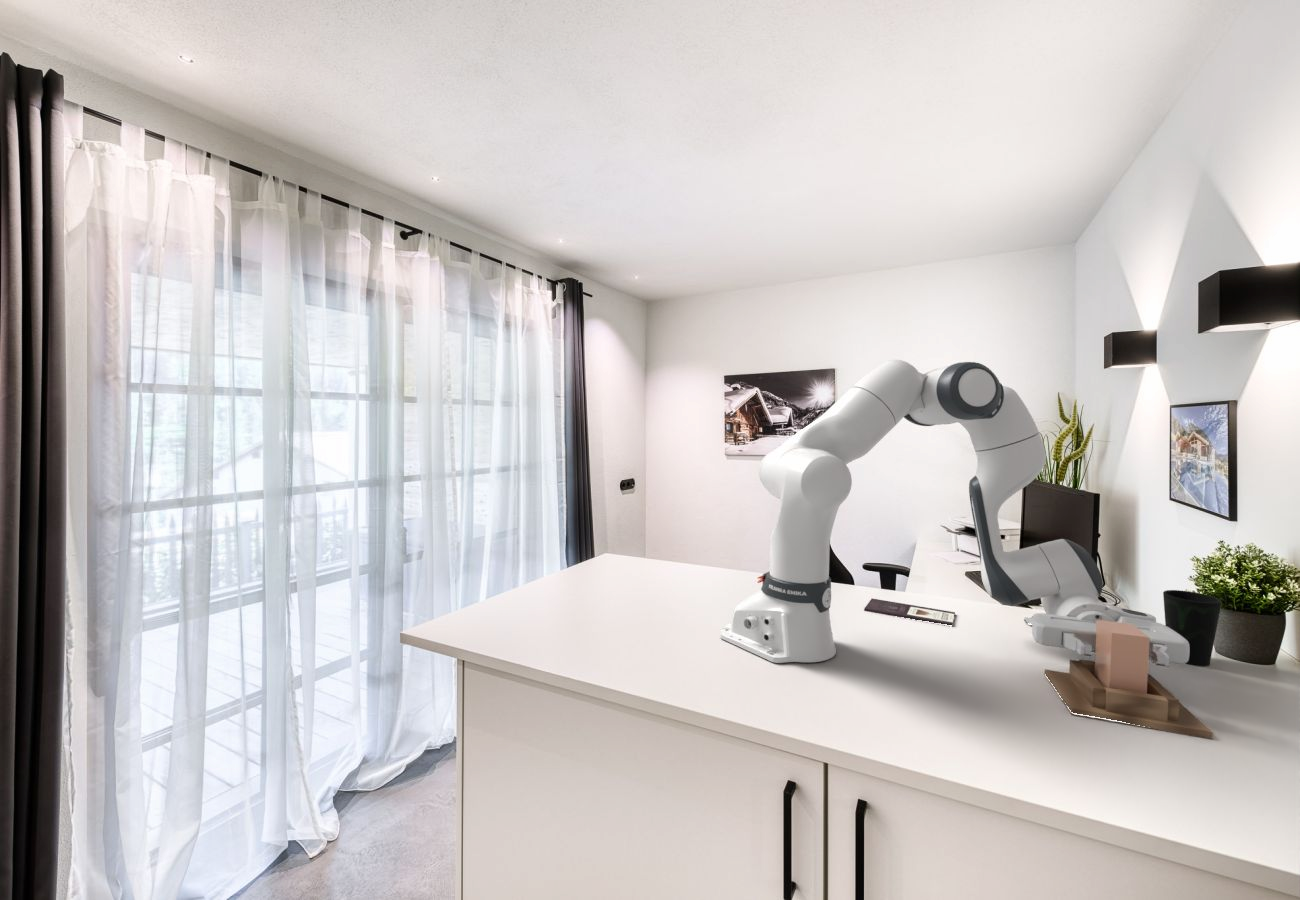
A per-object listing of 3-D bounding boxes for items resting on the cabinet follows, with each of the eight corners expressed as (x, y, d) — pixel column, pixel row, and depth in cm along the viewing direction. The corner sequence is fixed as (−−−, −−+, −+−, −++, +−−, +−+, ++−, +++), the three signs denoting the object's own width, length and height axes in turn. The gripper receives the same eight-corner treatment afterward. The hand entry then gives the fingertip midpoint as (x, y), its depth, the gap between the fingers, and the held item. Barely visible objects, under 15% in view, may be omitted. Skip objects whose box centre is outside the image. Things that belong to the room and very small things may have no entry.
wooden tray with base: (1071, 714, 81) (1073, 689, 81) (1044, 675, 94) (1045, 652, 94) (1212, 739, 75) (1213, 711, 75) (1162, 692, 88) (1163, 668, 88)
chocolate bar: (871, 598, 134) (955, 612, 124) (871, 602, 134) (954, 616, 124) (864, 608, 126) (952, 624, 117) (864, 612, 126) (952, 628, 117)
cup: (1201, 654, 103) (1205, 592, 102) (1228, 671, 96) (1232, 605, 95) (1151, 648, 106) (1154, 588, 105) (1174, 665, 98) (1177, 600, 98)
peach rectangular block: (1108, 703, 83) (1111, 632, 82) (1093, 685, 88) (1096, 619, 88) (1145, 709, 81) (1149, 637, 80) (1128, 691, 87) (1131, 623, 86)
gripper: (1022, 600, 100) (1043, 625, 87) (1164, 615, 92) (1210, 646, 79) (1020, 633, 100) (1042, 664, 88) (1162, 651, 93) (1208, 688, 80)
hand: (1123, 655), depth 83 cm, fingers open, 8 cm apart
